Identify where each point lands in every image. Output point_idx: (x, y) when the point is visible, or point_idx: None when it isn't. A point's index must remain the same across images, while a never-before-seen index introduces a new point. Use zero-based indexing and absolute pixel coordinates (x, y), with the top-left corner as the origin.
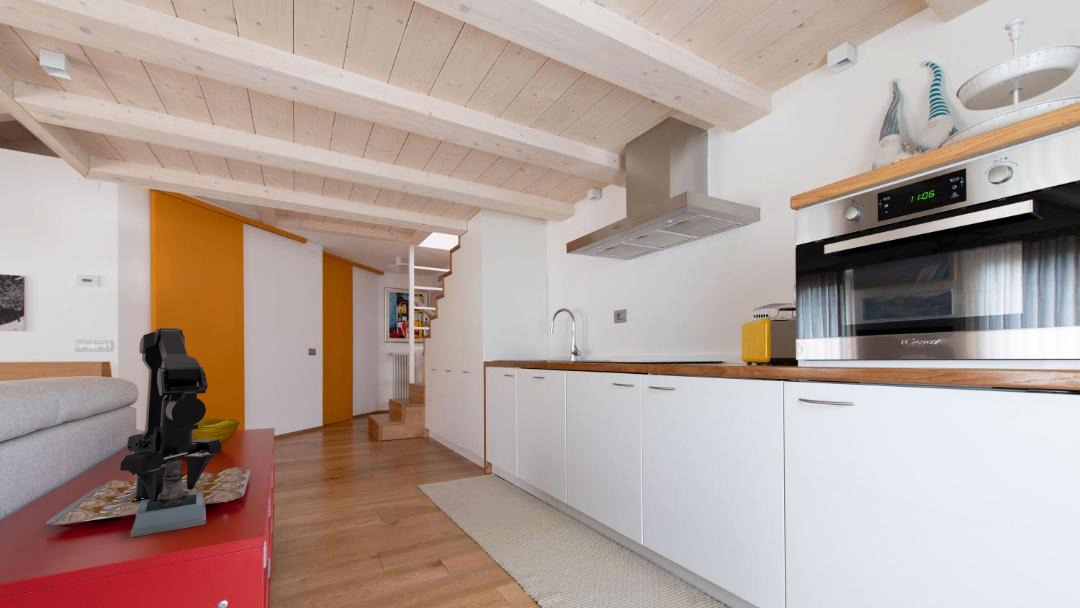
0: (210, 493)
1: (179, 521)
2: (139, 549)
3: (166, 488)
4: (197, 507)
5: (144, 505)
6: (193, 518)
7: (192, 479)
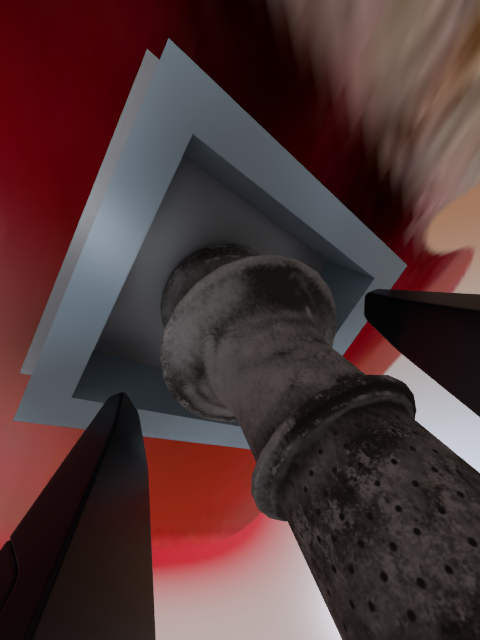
0: None
1: None
2: (25, 490)
3: (234, 409)
4: None
5: (120, 251)
6: None
7: (423, 348)
